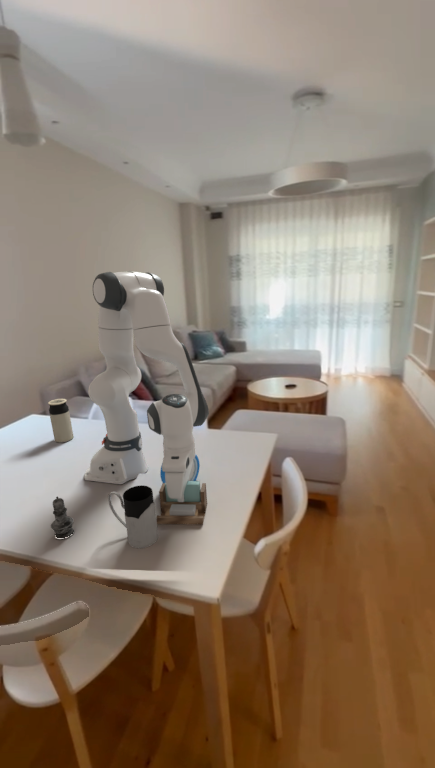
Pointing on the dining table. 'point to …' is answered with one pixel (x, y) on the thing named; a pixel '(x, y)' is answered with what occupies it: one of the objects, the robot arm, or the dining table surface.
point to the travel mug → (60, 420)
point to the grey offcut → (182, 510)
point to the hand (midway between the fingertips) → (183, 494)
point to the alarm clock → (193, 472)
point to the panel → (188, 492)
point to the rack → (167, 505)
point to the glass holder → (138, 515)
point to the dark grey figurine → (61, 520)
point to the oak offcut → (169, 512)
